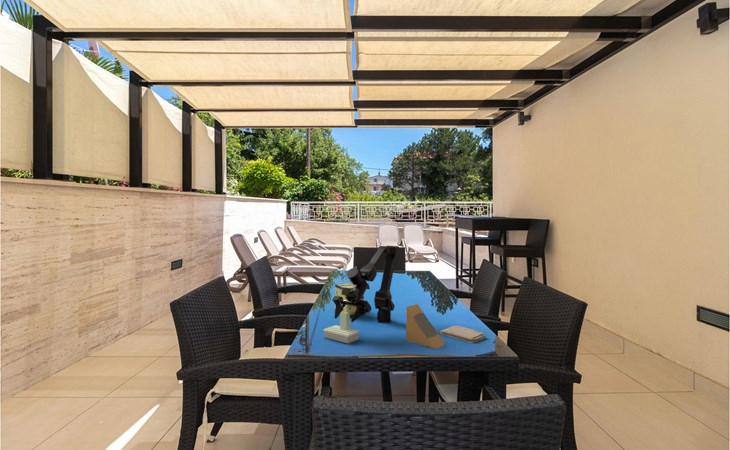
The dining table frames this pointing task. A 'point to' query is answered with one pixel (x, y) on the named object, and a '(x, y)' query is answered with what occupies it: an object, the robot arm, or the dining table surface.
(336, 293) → the protein box
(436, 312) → the dining table surface
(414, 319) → the sandwich container
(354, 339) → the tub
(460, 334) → the washcloth
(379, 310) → the robot arm
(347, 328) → the pale green grooved stand
